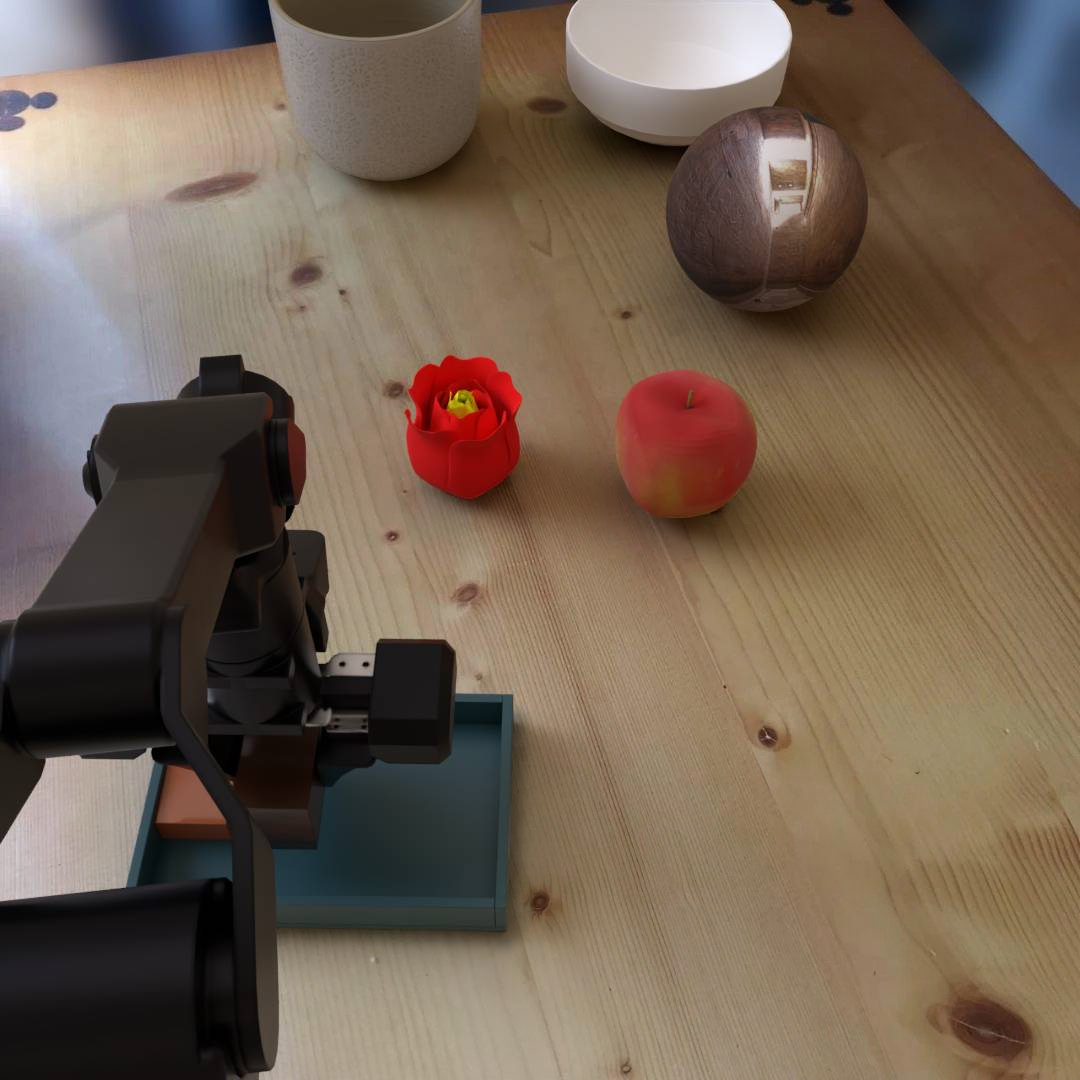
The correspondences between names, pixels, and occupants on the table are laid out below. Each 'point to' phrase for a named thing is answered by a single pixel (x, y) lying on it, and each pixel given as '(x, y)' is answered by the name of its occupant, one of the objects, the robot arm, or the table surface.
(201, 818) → the clay crumb
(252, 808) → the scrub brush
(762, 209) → the wooden sphere
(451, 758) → the tray
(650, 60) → the bowl
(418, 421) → the flower
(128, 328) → the table surface
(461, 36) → the planter
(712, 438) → the apple
